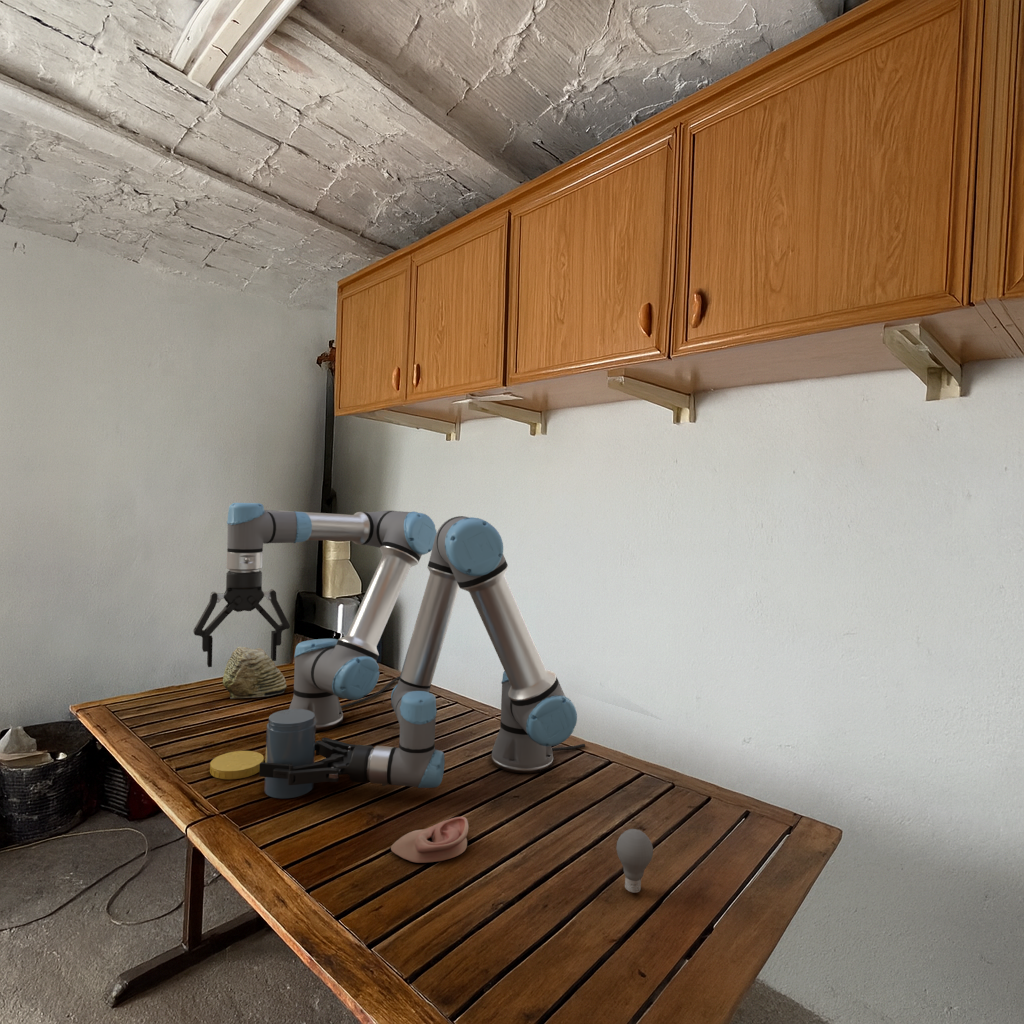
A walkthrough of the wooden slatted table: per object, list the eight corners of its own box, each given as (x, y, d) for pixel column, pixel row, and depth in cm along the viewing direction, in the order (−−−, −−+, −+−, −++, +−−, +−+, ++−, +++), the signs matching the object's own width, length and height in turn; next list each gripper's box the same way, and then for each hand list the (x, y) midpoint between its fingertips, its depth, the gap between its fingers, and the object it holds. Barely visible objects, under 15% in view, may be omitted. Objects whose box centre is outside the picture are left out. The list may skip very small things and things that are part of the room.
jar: (318, 792, 136) (321, 720, 135) (268, 802, 130) (271, 727, 130) (307, 774, 144) (310, 705, 144) (260, 782, 139) (263, 711, 139)
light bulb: (610, 879, 108) (613, 822, 108) (644, 879, 109) (647, 822, 109) (619, 902, 102) (622, 840, 102) (655, 901, 103) (658, 840, 103)
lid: (198, 772, 143) (198, 764, 143) (238, 755, 153) (239, 747, 153) (235, 783, 138) (235, 775, 138) (274, 764, 148) (274, 756, 148)
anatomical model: (384, 835, 112) (408, 805, 123) (383, 857, 112) (407, 825, 123) (456, 847, 109) (474, 815, 120) (455, 869, 109) (473, 836, 121)
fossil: (218, 695, 195) (220, 647, 195) (278, 685, 208) (279, 640, 207) (228, 703, 189) (230, 653, 188) (289, 692, 201) (290, 645, 201)
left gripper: (184, 574, 135) (181, 672, 136) (304, 570, 148) (301, 660, 148) (182, 569, 142) (180, 664, 142) (297, 566, 154) (295, 653, 155)
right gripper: (352, 808, 124) (245, 800, 125) (386, 759, 148) (296, 752, 150) (354, 770, 124) (247, 762, 125) (387, 727, 148) (297, 720, 149)
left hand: (242, 662), depth 145 cm, fingers open, 13 cm apart
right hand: (273, 757), depth 137 cm, fingers open, 12 cm apart
